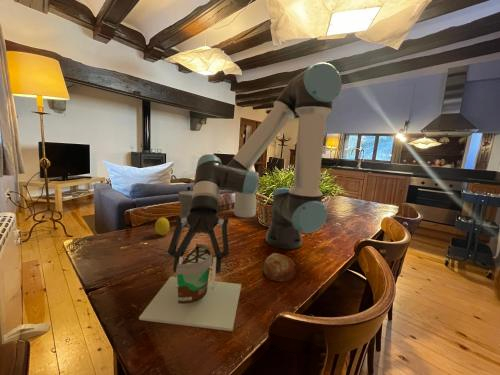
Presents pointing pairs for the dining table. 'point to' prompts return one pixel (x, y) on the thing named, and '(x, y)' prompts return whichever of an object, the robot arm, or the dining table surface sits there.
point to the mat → (195, 307)
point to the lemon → (162, 226)
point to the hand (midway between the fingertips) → (195, 287)
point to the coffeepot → (185, 203)
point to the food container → (194, 275)
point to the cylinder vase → (245, 204)
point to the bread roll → (279, 267)
